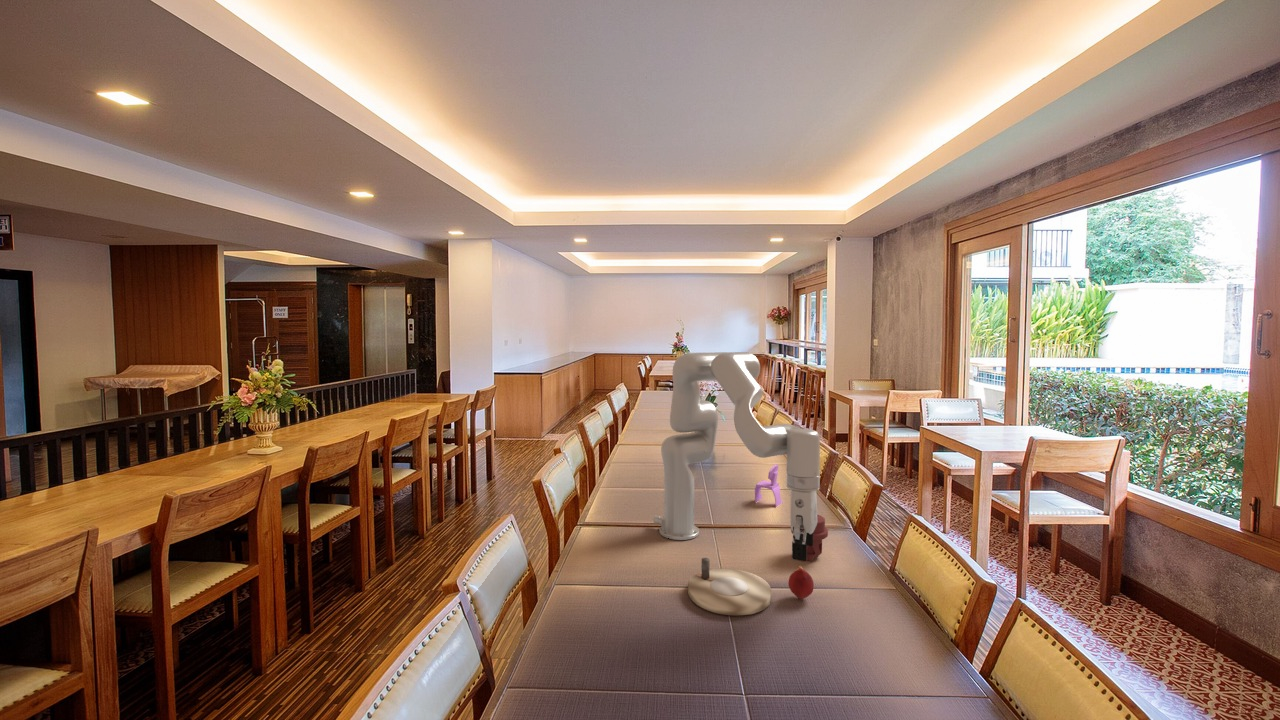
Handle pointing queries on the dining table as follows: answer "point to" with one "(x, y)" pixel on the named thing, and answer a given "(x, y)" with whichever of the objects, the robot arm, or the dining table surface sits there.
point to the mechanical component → (817, 539)
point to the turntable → (728, 591)
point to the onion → (801, 583)
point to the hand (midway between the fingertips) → (802, 552)
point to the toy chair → (769, 486)
